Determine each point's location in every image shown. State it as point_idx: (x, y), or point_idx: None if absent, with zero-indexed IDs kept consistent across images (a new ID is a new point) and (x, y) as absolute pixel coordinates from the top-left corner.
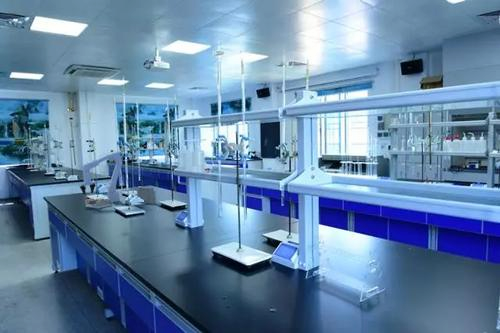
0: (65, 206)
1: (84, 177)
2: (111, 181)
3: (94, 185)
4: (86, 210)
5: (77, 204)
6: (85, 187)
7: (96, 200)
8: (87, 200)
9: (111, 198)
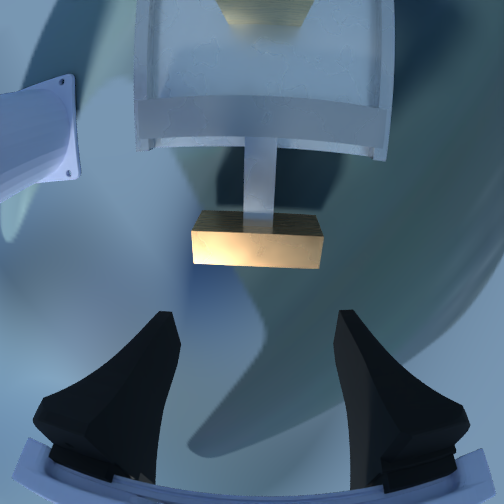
0: (395, 347)
1: None
2: None
3: (67, 413)
4: (472, 3)
5: (304, 338)
6: (406, 416)
7: (310, 5)
8: (307, 231)
9: (30, 99)
